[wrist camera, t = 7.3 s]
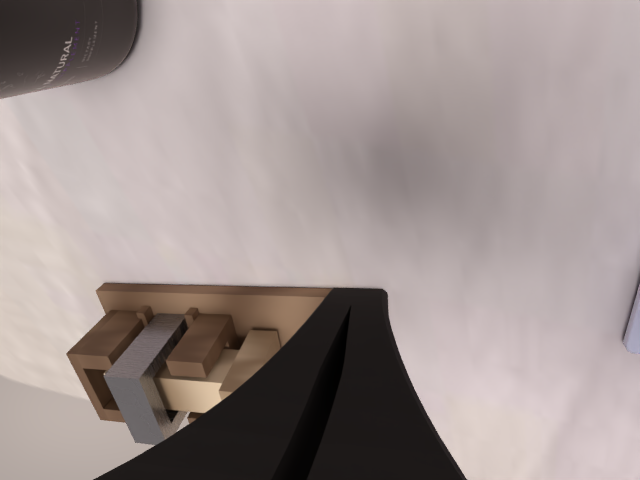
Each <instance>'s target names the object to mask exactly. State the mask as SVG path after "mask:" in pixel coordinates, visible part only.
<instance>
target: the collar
mask: <svg viewBox="0 0 640 480" xmlns="http://www.w3.org/2000/svg"><path fill="white" fill-rule="evenodd" d="M184 315H185V314H169V313H157V314H156V315H155V316H154V317H153V319H152V320H151V321H150V322H149V323H148V325H147V326H146V327H145V328H144V329H143V330H142V332H141V333H140V334H139V335H138V336H137V337H136V339H135V340H134V341H133V342H132V343H131V344H130V346H129V347H128V348H127V349H126V350H125V351H124V353H123V354H122V355H121V356H120V357H119V358H118V360H117V361H116V362H115V363H114V364H113V366H112V367H111V368H110V369H109V370H108V371H107V373H106V374H105V375H104V378H105V380H106V383H107V385H108V387H109V389H110V391H111V393H112V395H113V397H114V399H115V401H116V403H117V405H118V407H119V409H120V412H121V414H122V416H123V418H124V420H125V422H126V424H127V426H128V428H129V430H130V432H131V434H132V436H133V438H134V440H135V443H144V444H152V445H157V444H159V443H160V442H162V441H164V440H165V439H167V438H168V437H170V436H172V435H173V434H175V433H176V431H177V429H178V428H179V426H180V424H181V422H182V420H183V419H184V417H185V415H186V414H187V412H188V411H179V410H169V409H165V408H164V405H163V403H162V400H161V398H160V395H159V393H158V390H157V388H156V386H155V383H154V381H153V377H154V376H155V375H156V373H157V372H158V370H159V369H160V368H161V366H162V365H163V363H164V362H165V361H166V359H167V358H168V356H169V355H170V354H171V352H172V351H173V349H174V348H175V347H176V345H177V344H178V343H179V341H180V340H181V338H182V337H183V336H184V334H185V333H186V331H187V330H188V329H189V328H188V325H187V322H186V319H185V316H184Z"/></svg>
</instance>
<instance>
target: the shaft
mask: <svg viewBox="0 0 640 480" xmlns="http://www.w3.org/2000/svg"><path fill="white" fill-rule="evenodd" d="M280 349H281V348H280V344H279V339H278V334H277V331H261V330H250V331H249V333H248V335H247V337H246V339H245V341H244V343H243V345H242V346H241V348H240V350H231V349H223V350H222V352H221V354H220V355H219V357H218V359H217V361H216V362H215V364H214V366H213V368H212V369H211V371H210V373H209V375H208V376H207V378H201V377H188V376H175V375H171V374H170V371H169V368H168V366H167V363H166V361H165V362H164V363H163V365H162V366H161V368H160V369H159V370H158V372H157V373H156V375H155V376H154V377H153V381H154V383H155V386H156V388H157V390H158V393H159V395H160V398H161V400H162V403H163V405H164V408H165V409H169V410H179V411H190V412H199V413H205V412H207V411H208V410H210V409H211V408H212V407H214V406H215V405H217V404H218V403H219V402H221V401H222V400H223V399H225V398H226V397H227V396H229V395H230V394H231V393H232V392H234V391H235V390H236V389H237V388H238V387H240V386H241V385H242V384H243V383H244V382H246V381H247V380H248V379H249V378H250V377H251V376H253V375H254V374H255V373H256V372H257V371H258V370H259V369H260V368H261V367H262V366H263V365H264V364H266V363H267V362H268V361H269V360H270V359H271V358H272V357H273V356H274V355H275V354H276V353H277V352H278V351H279V350H280ZM173 350H174V349H173ZM168 357H169V356H168ZM107 371H108V370H106V371H105V373H104V375H105V374H106V373H107Z"/></svg>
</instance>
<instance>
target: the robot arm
mask: <svg viewBox="0 0 640 480" xmlns="http://www.w3.org/2000/svg"><path fill="white" fill-rule="evenodd" d="M623 344H624V346H625V347H626V349H627V351H629V352H630V353H634V354H640V285H639V288H638V292H637V295H636V299H635V302H634V306H633V309H632V313H631V316H630V320H629V323H628V327H627V330H626V333H625V337H624V340H623ZM94 480H467V479H466V478H465V476H464V474H463V473H462V471H461V470H460V468H459V466H458V465H457V463H456V462H455V460H454V458H453V457H452V455H451V454H450V452H449V451H448V449H447V447H446V446H445V444H444V443H443V441H442V439H441V438H440V436H439V435H438V433H437V431H436V429H435V427H434V426H433V424H432V422H431V420H430V418H429V417H428V415H427V413H426V411H425V409H424V407H423V405H422V403H421V401H420V399H419V397H418V395H417V393H416V391H415V389H414V387H413V385H412V383H411V380H410V378H409V376H408V373H407V371H406V369H405V366H404V364H403V361H402V359H401V356H400V353H399V351H398V348H397V345H396V341H395V338H394V335H393V332H392V329H391V325H390V320H389V315H388V294H387V292H386V291H385V290H383V289H364V288H333V289H332V290H331V291H330V292H329V293H328V295H327V296H326V297H325V298H324V300H323V301H322V302H321V303H320V305H319V306H318V307H317V308H316V309H315V311H314V312H313V313H312V314H311V315H310V317H309V318H308V319H307V320H306V321H305V323H304V324H303V325H302V326H301V327H300V328H299V329H298V330H297V331H296V333H295V334H294V335H293V336H292V337H291V338H290V339H289V340H288V341H287V342H286V344H285V345H284V346H283V347H282V348H281V349H280V350H279V351H278V352H277V353H276V354H275V355H274V356H273V357H272V358H271V359H270V360H269V361H268V362H267V363H266V364H264V365H263V366H262V367H261V368H260V369H259V370H258V371H257V372H256V373H255V374H254V375H253V376H251V377H250V378H249V379H248V380H247V381H246V382H244V383H243V384H242V385H241V386H240V387H238V388H237V389H236V390H235V391H234V392H232V393H231V394H230V395H229V396H227V397H226V398H225V399H223V400H222V401H221V402H219V403H218V404H217V405H215V406H214V407H212V408H211V409H210V410H208V411H207V412H205V413H204V414H203V415H201V416H200V417H198V418H197V419H196V420H194V421H193V422H192V423H190V424H189V425H187V426H186V427H184V428H183V429H181V430H179V431H178V432H176V433H175V434H173V435H172V436H170V437H168V438H167V439H165V440H164V441H162V442H160V443H159V444H157V445H155V446H154V447H152V448H151V449H149V450H147V451H145V452H144V453H142V454H140V455H138V456H137V457H135V458H134V459H132V460H130V461H128V462H126V463H124V464H122V465H120V466H118V467H117V468H115V469H113V470H111V471H109V472H107V473H105V474H103V475H101V476H99V477H98V478H96V479H94Z"/></svg>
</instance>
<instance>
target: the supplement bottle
mask: <svg viewBox="0 0 640 480" xmlns="http://www.w3.org/2000/svg"><path fill="white" fill-rule="evenodd" d="M137 17H138V12H137V0H0V99H2V98H7V97H12V96H17V95H22V94H27V93H32V92H37V91H41V90H46V89H51V88H56V87H61V86H66V85H71V84H75V83H80V82H84V81H88V80H92V79H96V78H99V77H102V76H104V75H106V74H108V73H110V72H111V71H113V70H114V69H115V68H116V67H118V66H119V65H120V64H121V63H122V61H123V60H124V59H125V57H126V56H127V54H128V53H129V51H130V48H131V46H132V44H133V41H134V37H135V33H136V28H137Z"/></svg>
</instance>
